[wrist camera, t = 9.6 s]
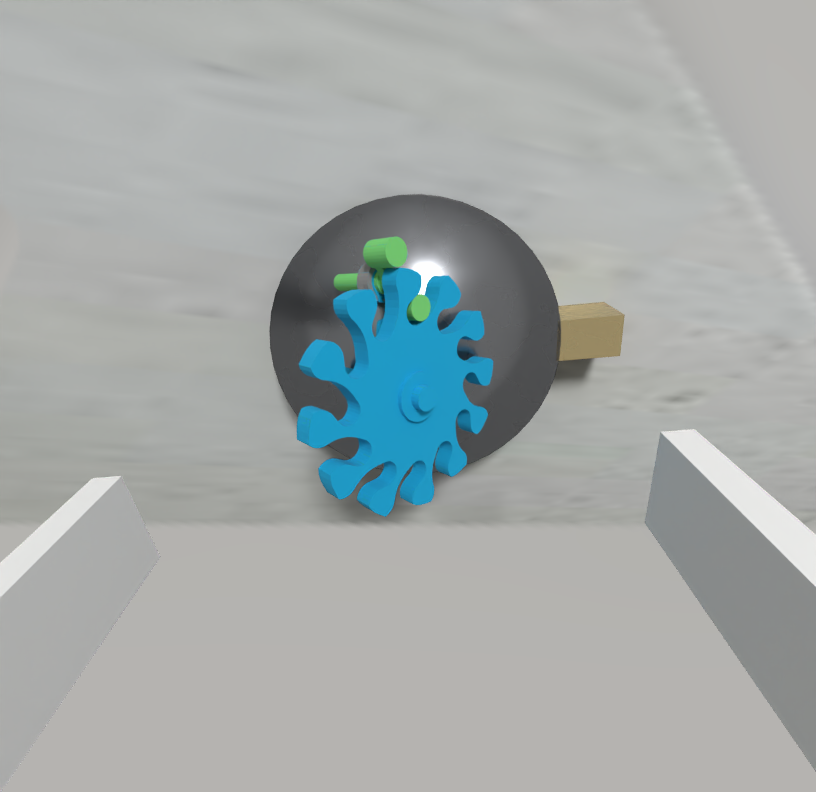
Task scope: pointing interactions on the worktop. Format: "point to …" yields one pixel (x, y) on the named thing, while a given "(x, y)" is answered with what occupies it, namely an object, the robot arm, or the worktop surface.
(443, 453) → the gear
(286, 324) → the dark grey frying pan
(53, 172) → the worktop surface
